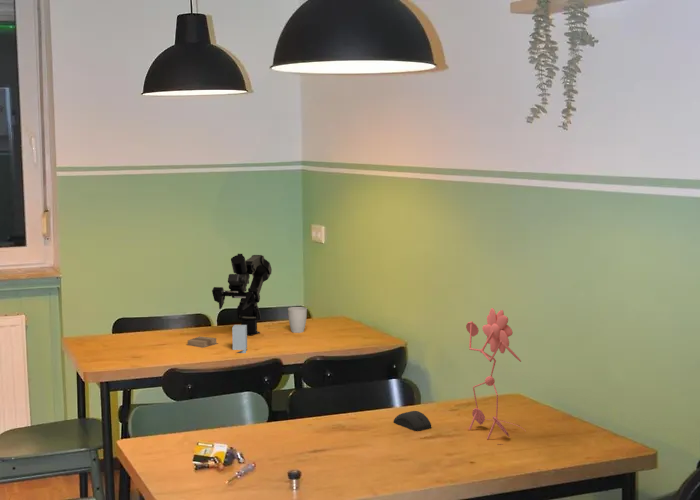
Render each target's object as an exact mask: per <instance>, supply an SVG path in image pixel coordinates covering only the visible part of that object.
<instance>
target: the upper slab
mask: <svg viewBox="0 0 700 500" xmlns="http://www.w3.org/2000/svg"><path fill="white" fill-rule="evenodd" d="M215 343H217V338H216V337H207V336H197V337H194V338H191V339H188V340H187V346H190V347H195V346H198V347H197V348H201V347H204V348H208V347H211V346H210V345H212V344H215ZM207 346H208V347H207ZM212 346H213V345H212Z"/></svg>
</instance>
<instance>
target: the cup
mask: <svg viewBox="0 0 700 500" xmlns="http://www.w3.org/2000/svg"><path fill="white" fill-rule="evenodd" d="M287 314H288V315H287V316H288V323H289V328H290V330H291V333H294V334H301V333H304V332H305V327H306V324H307V317H308V315H307V314H308V308H307V307H304V306H290V307H288V308H287Z"/></svg>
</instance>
